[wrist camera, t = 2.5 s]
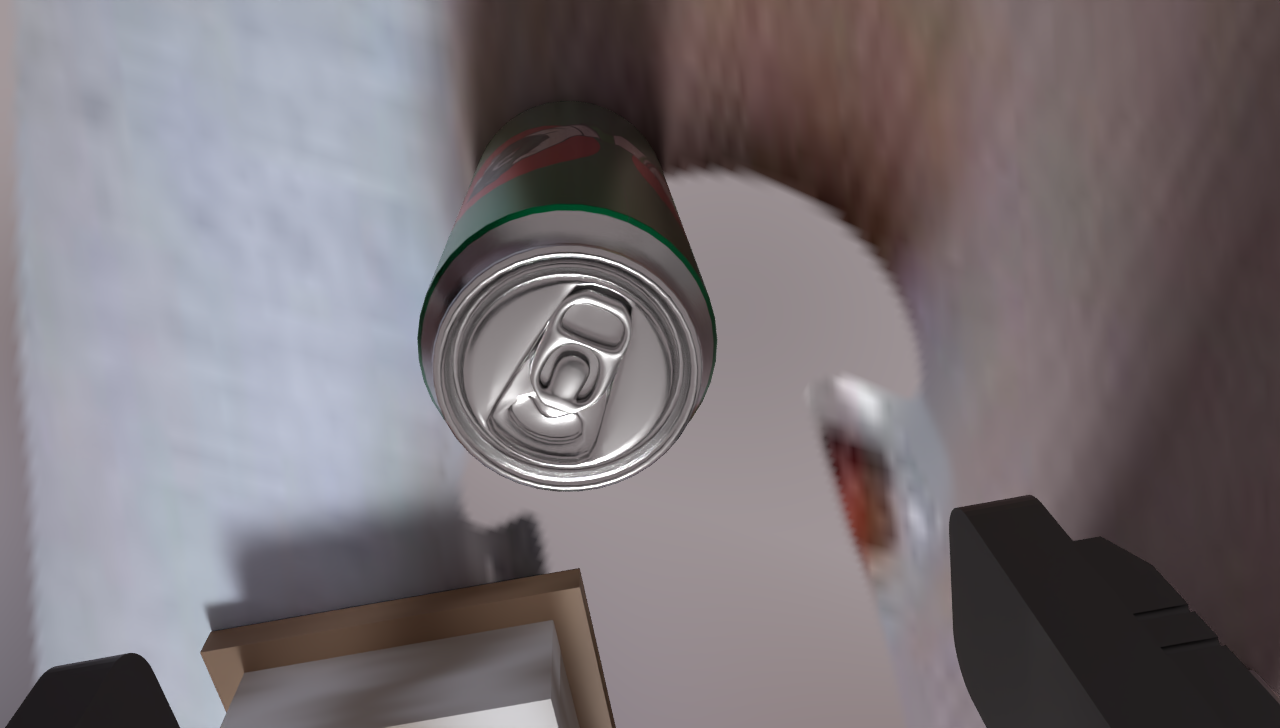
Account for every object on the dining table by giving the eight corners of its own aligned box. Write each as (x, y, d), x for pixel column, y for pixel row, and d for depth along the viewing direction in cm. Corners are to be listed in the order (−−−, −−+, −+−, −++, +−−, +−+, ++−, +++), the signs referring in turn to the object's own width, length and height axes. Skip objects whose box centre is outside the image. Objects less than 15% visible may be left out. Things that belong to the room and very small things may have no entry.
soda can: (449, 240, 27) (364, 453, 16) (517, 64, 25) (474, 169, 14) (618, 308, 28) (646, 550, 17) (694, 144, 26) (781, 297, 15)
